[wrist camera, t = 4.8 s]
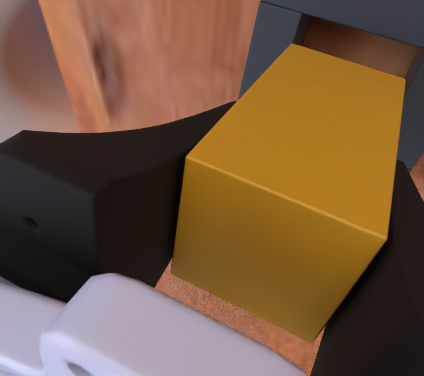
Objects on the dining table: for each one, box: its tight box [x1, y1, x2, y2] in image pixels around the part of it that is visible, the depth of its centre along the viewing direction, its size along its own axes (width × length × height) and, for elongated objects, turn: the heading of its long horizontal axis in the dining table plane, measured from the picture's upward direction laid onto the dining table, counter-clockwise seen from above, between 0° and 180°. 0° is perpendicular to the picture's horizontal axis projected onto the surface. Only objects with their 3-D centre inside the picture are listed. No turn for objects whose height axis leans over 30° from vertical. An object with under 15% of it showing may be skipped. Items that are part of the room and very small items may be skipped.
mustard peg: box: [171, 43, 406, 343], centre depth 11 cm, size 4×4×8 cm
